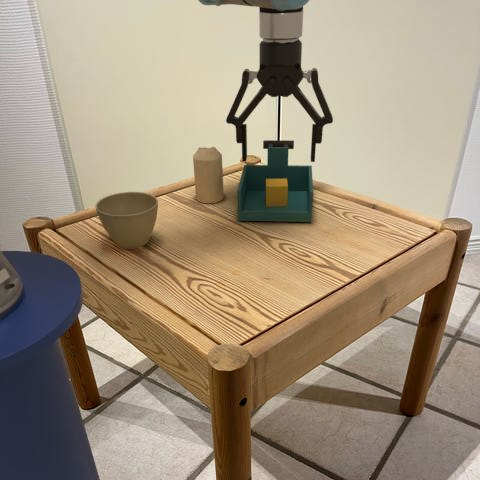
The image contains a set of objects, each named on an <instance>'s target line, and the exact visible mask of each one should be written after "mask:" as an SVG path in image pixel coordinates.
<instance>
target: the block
mask: <svg viewBox="0 0 480 480" xmlns="http://www.w3.org/2000/svg"><path fill="white" fill-rule="evenodd" d="M287 202H288V183H287V179H266V207H287Z"/></svg>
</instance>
